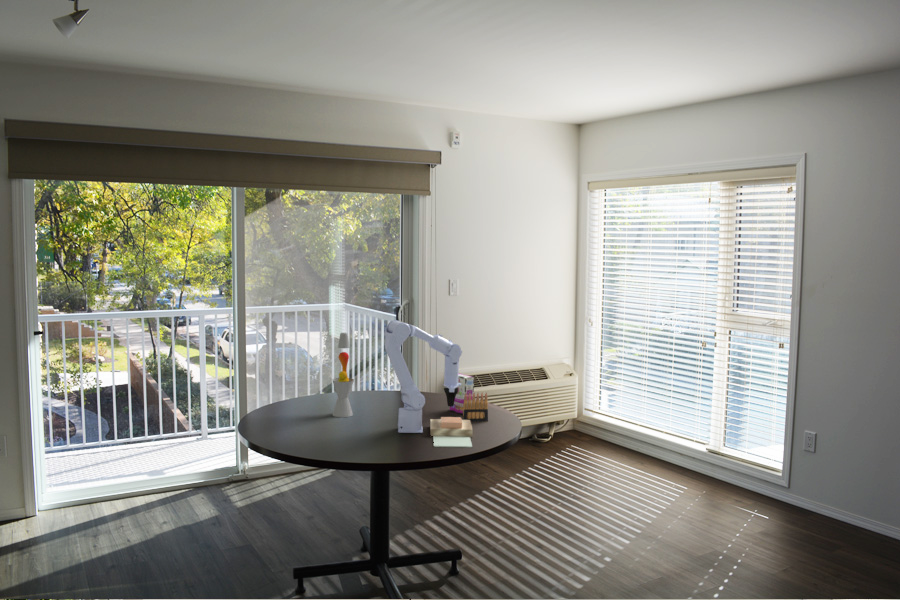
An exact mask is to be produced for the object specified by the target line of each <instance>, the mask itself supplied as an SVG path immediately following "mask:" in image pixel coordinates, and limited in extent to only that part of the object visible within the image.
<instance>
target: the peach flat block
mask: <svg viewBox="0 0 900 600" xmlns="http://www.w3.org/2000/svg"><path fill="white" fill-rule="evenodd" d="M440 419H441V428H462V417H459V416H456V417H455V416H440Z"/></svg>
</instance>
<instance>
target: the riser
mask: <svg viewBox="0 0 900 600" xmlns="http://www.w3.org/2000/svg"><path fill="white" fill-rule="evenodd" d="M429 420H430V423H429V433H430V435H431V436H460V437H470V438H473V433H474V432H473V426H472V421H470V420H462V419H461V420H462V428H441V418H438V419H437V418H435V419H433V418H430V419H429ZM431 436H430V437H431Z"/></svg>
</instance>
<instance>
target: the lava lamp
mask: <svg viewBox="0 0 900 600" xmlns="http://www.w3.org/2000/svg"><path fill="white" fill-rule="evenodd" d="M337 348H338V349H349V348H350V341H349V334H348V332H340V334H339V340H338V345H337ZM338 360H339V362H340V364H341V367H342V368H341V369H342V371H340V372H339V373H338V377H337V378H336V377H335V378H333V379H332V382H333V387H334V389H335V392H336V396H337V399H336V402H335V405H334V408H333V410H332V416H333V417H335V418H348V417H351V416H352V417H353V415H354V414H353V410H352V406H351V403H350V400H349V395H350V393H351V391H352V388H353V385H354V382H355V379H353V378H350V377H349V376H348V372H347V371H348V369H347V368H348V362H349V360H350V355H349V353H347V352H345V351H342V352H340V353H339V354H338Z"/></svg>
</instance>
